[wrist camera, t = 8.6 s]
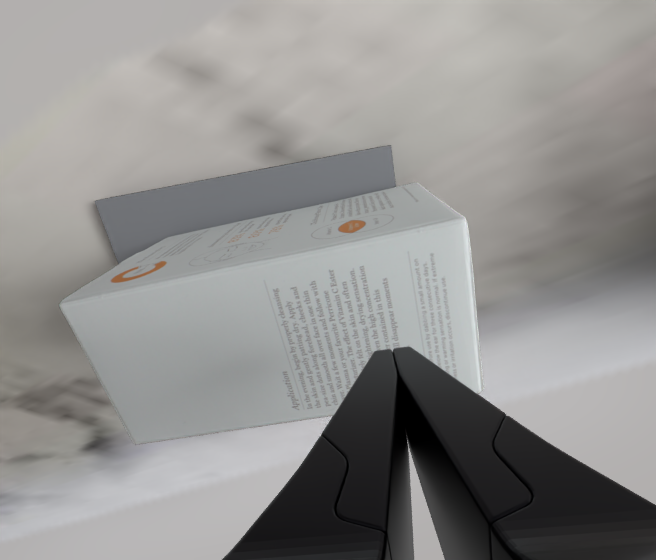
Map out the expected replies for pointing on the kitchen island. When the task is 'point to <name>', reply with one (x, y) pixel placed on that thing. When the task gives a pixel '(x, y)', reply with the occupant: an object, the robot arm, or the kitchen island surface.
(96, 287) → the small box
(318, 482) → the robot arm
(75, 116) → the kitchen island surface
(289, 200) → the mat
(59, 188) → the kitchen island surface
